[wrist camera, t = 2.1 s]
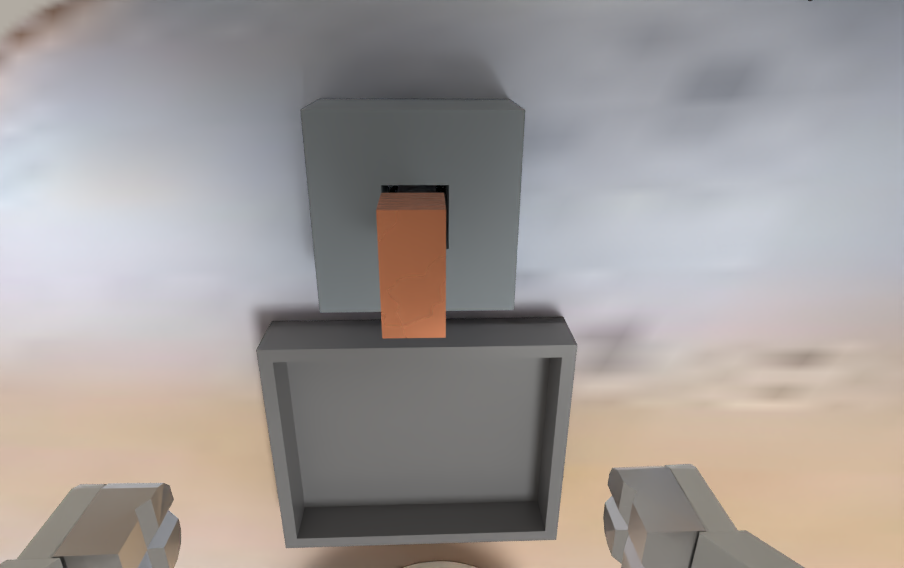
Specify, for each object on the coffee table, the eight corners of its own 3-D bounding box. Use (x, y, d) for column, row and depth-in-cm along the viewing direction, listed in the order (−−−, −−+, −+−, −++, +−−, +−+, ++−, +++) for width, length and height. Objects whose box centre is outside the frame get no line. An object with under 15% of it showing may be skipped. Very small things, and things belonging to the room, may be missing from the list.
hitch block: (509, 99, 30) (525, 110, 25) (501, 273, 34) (513, 310, 29) (319, 98, 30) (300, 109, 25) (334, 275, 34) (319, 312, 29)
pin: (438, 147, 31) (446, 209, 19) (438, 234, 33) (445, 337, 21) (394, 147, 31) (375, 210, 19) (397, 234, 33) (382, 338, 21)
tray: (563, 317, 35) (577, 345, 32) (545, 500, 41) (556, 539, 38) (272, 321, 35) (256, 350, 31) (296, 507, 40) (285, 548, 37)
